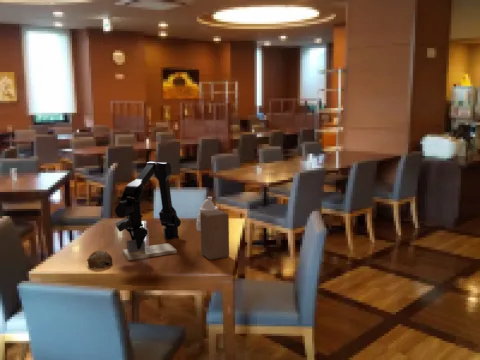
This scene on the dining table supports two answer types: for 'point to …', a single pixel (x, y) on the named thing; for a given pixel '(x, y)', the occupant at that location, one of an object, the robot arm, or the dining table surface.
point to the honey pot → (205, 206)
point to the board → (151, 251)
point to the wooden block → (214, 234)
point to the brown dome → (99, 259)
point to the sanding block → (134, 247)
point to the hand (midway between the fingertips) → (136, 246)
